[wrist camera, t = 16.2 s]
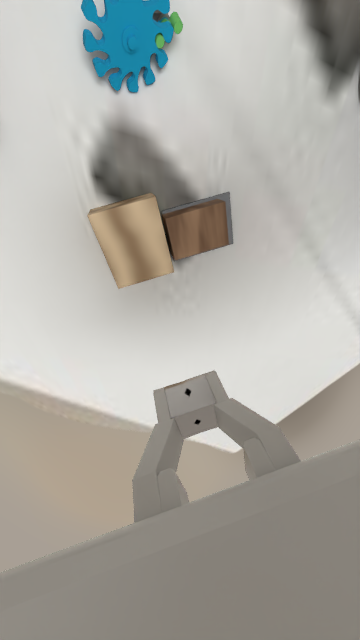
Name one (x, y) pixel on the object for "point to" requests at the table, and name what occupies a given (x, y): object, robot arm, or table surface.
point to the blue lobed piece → (130, 37)
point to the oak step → (132, 239)
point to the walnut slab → (196, 228)
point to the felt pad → (223, 197)
